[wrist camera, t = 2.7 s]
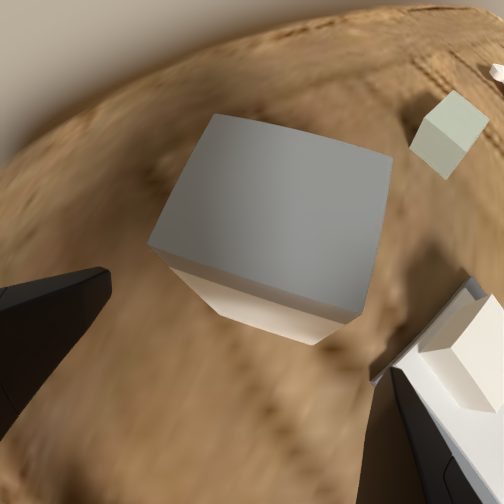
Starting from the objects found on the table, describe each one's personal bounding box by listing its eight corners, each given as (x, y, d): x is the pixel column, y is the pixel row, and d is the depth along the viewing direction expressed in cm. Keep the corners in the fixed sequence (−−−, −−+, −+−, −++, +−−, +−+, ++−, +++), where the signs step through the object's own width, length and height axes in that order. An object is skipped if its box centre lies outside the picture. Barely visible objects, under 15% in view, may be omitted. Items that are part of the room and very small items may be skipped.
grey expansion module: (312, 345, 19) (361, 314, 8) (219, 314, 20) (146, 244, 9) (335, 270, 20) (393, 157, 9) (246, 243, 21) (214, 113, 10)
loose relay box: (445, 180, 22) (466, 152, 18) (408, 149, 23) (424, 117, 20) (471, 146, 23) (489, 119, 19) (438, 119, 24) (453, 90, 21)
